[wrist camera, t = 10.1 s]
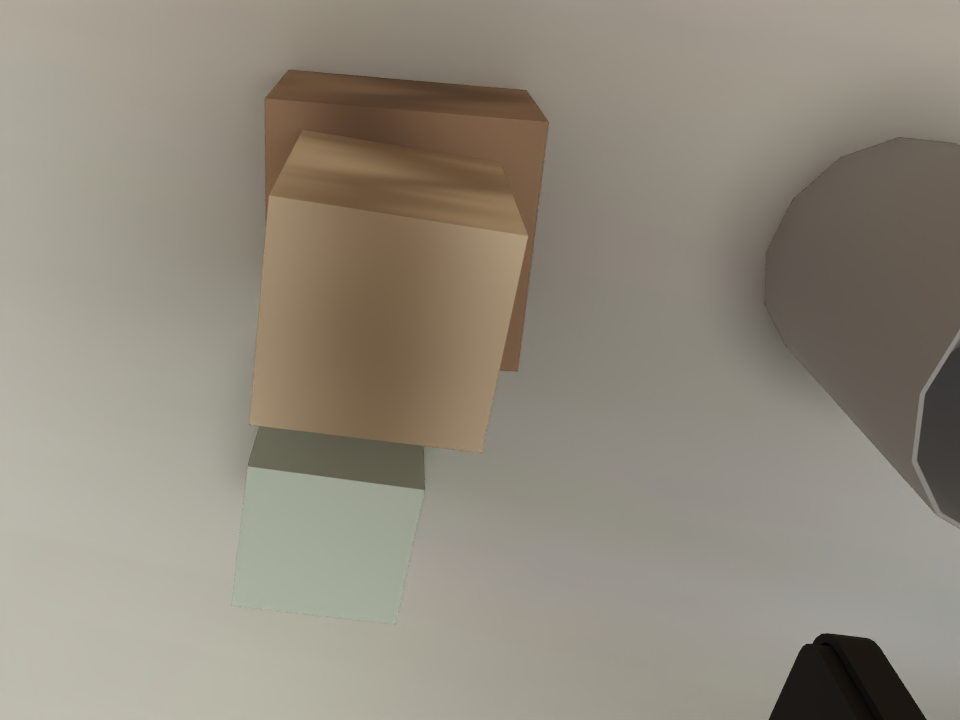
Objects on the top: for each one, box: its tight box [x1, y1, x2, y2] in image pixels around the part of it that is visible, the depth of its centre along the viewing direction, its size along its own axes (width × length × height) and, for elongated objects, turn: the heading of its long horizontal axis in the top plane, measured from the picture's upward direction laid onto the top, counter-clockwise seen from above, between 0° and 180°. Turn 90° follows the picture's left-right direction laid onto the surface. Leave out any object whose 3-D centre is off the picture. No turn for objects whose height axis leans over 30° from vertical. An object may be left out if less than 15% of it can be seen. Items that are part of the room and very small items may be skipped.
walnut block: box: [265, 70, 549, 372], centre depth 26 cm, size 7×7×5 cm
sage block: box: [231, 426, 425, 624], centre depth 29 cm, size 5×5×6 cm
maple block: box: [249, 130, 528, 453], centre depth 21 cm, size 5×5×6 cm
